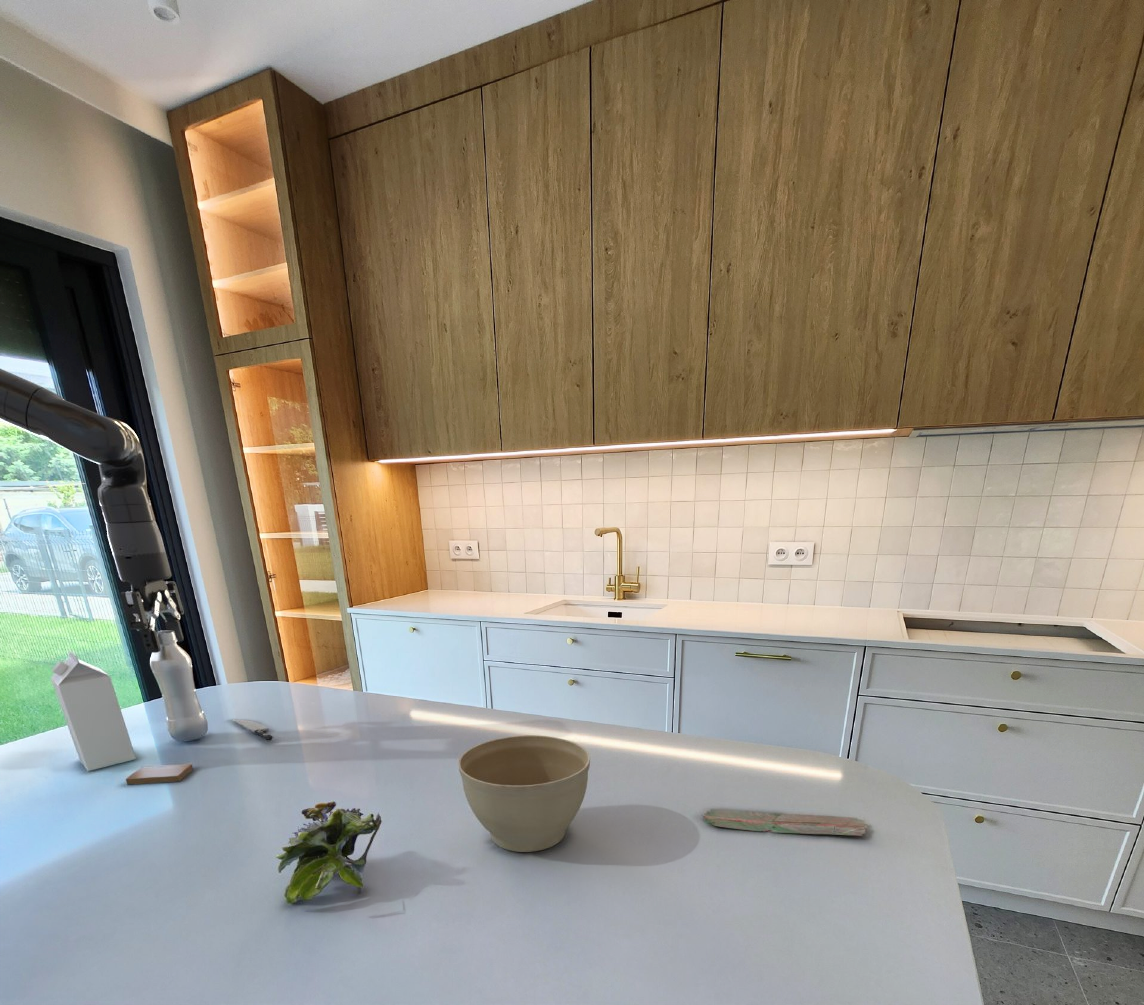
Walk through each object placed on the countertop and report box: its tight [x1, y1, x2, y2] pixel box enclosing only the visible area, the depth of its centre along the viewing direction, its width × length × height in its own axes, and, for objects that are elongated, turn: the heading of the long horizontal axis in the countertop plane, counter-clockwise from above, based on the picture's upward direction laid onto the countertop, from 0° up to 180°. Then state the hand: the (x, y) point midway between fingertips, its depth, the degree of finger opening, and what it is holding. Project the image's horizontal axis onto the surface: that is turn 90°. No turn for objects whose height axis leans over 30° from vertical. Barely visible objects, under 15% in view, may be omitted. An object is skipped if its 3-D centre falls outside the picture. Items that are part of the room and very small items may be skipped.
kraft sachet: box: [125, 763, 194, 786], centre depth 105 cm, size 8×5×1 cm, turn 95°
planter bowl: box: [457, 734, 591, 853], centre depth 82 cm, size 16×16×11 cm
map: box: [700, 808, 868, 837], centre depth 84 cm, size 5×20×1 cm, turn 77°
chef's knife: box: [232, 719, 274, 742], centre depth 125 cm, size 19×1×3 cm
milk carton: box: [50, 649, 137, 772], centre depth 109 cm, size 7×7×19 cm
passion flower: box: [275, 801, 383, 905], centre depth 74 cm, size 11×11×12 cm
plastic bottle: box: [149, 629, 209, 742], centre depth 118 cm, size 6×7×20 cm
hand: (166, 646), depth 115 cm, fingers open, 8 cm apart
